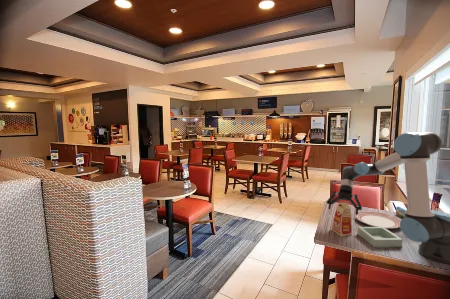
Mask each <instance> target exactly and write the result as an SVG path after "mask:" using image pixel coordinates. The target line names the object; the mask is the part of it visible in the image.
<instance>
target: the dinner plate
mask: <svg viewBox="0 0 450 299" xmlns="http://www.w3.org/2000/svg"><path fill="white" fill-rule="evenodd" d="M355 219H356V220H358V221H359V222H361V223H364V224H365V225H368V226H369V227H384V228H385V229H387V230H391V229H398V228H400V221H401V220H402V219H400V218H398V217H396V216H393V215H391V214H387V213H385V212H379V211H369V210H367V211H365V210H364V211H358V215H356V217H355Z"/></svg>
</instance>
